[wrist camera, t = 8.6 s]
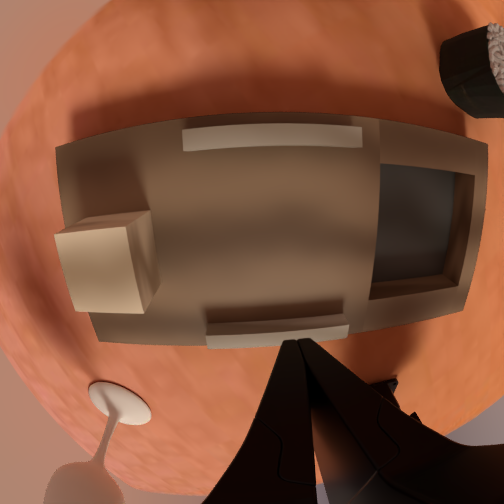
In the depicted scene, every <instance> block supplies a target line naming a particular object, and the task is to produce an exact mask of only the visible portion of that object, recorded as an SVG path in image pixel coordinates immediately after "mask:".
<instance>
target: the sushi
mask: <svg viewBox="0 0 504 504" xmlns="http://www.w3.org/2000/svg"><path fill="white" fill-rule="evenodd" d="M439 71H440V77H441V81H442V84H443V86H444V88H445V91H446V93H447V94H448V96H449V97H450V99H451V100H452V101H453V102H454V103H455V104H456V105H457V106H458V107H460V108H461V109H462V110H464V111H465V112H466V113H467V114H469V115H470V116H472V117H474V118H504V28H503V27H502V26H499V25H498V23H495V24H492V23H491V22H490V23H489V24H488V25H487V26H484V27H480V28H477V29H474V30H471V31H468V32H465V33H462V34H460V35H458V36H455V37H453V38H451V39H448V40H446V41H444V42H443V43H442V45H441V50H440V67H439Z"/></svg>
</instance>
